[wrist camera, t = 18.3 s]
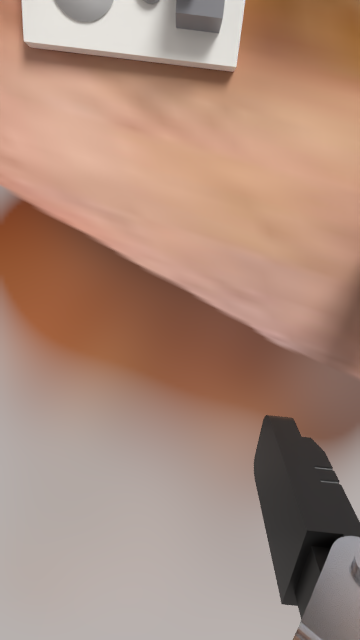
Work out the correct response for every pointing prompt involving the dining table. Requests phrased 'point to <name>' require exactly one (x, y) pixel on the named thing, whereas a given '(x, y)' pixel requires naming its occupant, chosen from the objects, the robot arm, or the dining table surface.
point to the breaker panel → (139, 29)
